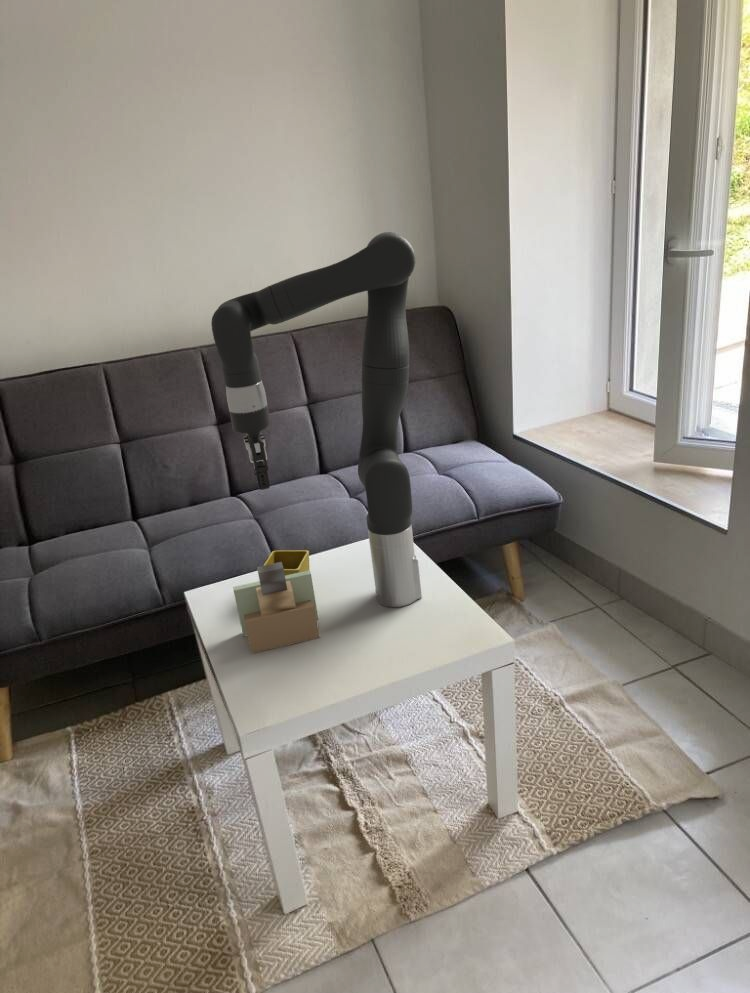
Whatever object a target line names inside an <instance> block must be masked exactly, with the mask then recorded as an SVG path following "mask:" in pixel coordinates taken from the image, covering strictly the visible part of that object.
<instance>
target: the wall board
mask: <svg viewBox="0 0 750 993" xmlns="http://www.w3.org/2000/svg"><path fill="white" fill-rule="evenodd" d="M285 579H286V581H289V580H290V582H291V586H292V589H293V594H294V599H295V605H296V609H291V610H287V611H282V612H278V613H274V614H269V615H265V616H261V611H260V606H259V601H258V596H257V591H256V588H257V587H261V585H260V580H259V581H255V582H249V583H245V584H242V585H241V584H240V585H236V586H232V588H233V594H234V598H235V605H236V608H237V613H238V617H239V623H240V627H241V631H242V632H241V633H242V636H243V637H246V636H247V638H248V639H247V640H248V644H249V648H250V653H251V654H255V653H259V652H263V651H268V650H272V649H276V648H280V647H286V646H289V645H292V644H293V645H294V644H298V643H301V642H303V643H304V642H306V641H311V640H315V639H319V638H320V632H319V625H318V621H317V620H319V615H318V608H317V602H316V596H315V590H314V584H313V577H312V572H311V570H310V569H309V571H304V572H300V573H295V574H290V575H286V576H285Z"/></svg>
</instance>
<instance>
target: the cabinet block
mask: <svg viewBox="0 0 750 993" xmlns="http://www.w3.org/2000/svg"><path fill="white" fill-rule="evenodd" d="M263 565H264V564H263ZM263 565H260V566H257V567H256V569H257V574H258V579H259V581H260V585H261V587H257V588H256V591H257V596H258V601H259V606H260V611H261V616H265V615H269V614H274V613H278V612H282V611H287V610H291V609H296V605H295V599H294V594H293V589H292V586H291V582H290V580H289V581H286V579H285V574H284V568H283V565H282V562H278V563H274V564H269V565H264V566H263Z"/></svg>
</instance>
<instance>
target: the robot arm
mask: <svg viewBox="0 0 750 993" xmlns="http://www.w3.org/2000/svg"><path fill="white" fill-rule="evenodd" d="M415 267H416V254H415V250H414V248H413V246H412V244H411V242H409V241H408V239H406V238H405V237H403V236H402V235H400V234H399V233H396V232H392V231H386V232H382V233H379V234H377V235H375V236H374V237H373V238H371V240H370V241H369V242H368V243H367V246H366V247H364V248H363V249H361V250H359V251H357V252H356V253H354V254H353V255H351V256H349V257H346V258H344V259H343V260H341V261H340V260H339V261H337V262H336V263H333V264H331V265H330V264H329V265H327V266H324V267H321V268H320V267H319V268H318V269H313V270H309V271H306V272H304V273H299V274H297V275H294V276H290V277H288V278H285V279H284V280H283V279H282V280H280V281H278V282H275V283H273V284H271V285H267V286H266V287H264V288H262V289H261V290H257V291H253V292H250V293H245V294H243V295H239V296H235V297H234V298H230V299H228V300H226V301H224V302H222V303H221V304H220V305H219V306H218V308H216V310H215V311H214V313H213V314H212V317H211V331H212V336H213V341H214V343H215V346H216V351H217V353H218V355H219V359H220V360H221V368H222V374H223V377H224V378H223V379H224V382H225V384H224V385H225V391H226V392H225V393H226V401H227V406H228V411H229V412H228V413H229V416H230V421H231V427H232V430H233V431H234V432H235V433H237V434H245V436H243V442H244V445H245V449H246V451H247V453H248V458H249V460H250V463H252V468H253V469H252V470H253V474H254V475H255V476H256V481H257V486H258V489H259V490H260V491H261V490H267V489H270V487H271V485H270V481H269V474H268V471H269V465H268V463H267V460H268V454H267V449H266V438H265V436H264V433H261V431H264V430H267V429H268V428H269V427H270V426H271V418H270V412H269V407H268V400H267V394H266V390H265V386H264V383H263V380H262V374H261V369H260V363H259V359H258V357H257V354H256V353H255V352H254V346H253V341H252V333H251V332H252V331H255V330H259V329H260V328H262V327H265V326H268V325H273V326H274V325H278V324H282V323H285V322H286V321H289V320H292V319H295V318H298V317H300V316H302V315H305V314H307V313H310V312H312V311H314V310H317V309H319V308H321V307H324V306H326V305H328V304H331V303H333V302H336V301H338V300H341V299H343V298H347V297H349V296H354V295H355V294H359V293H363V292H367V316H366V322H365V329H364V336H363V343H362V344H363V347H362V355H361V356H362V358H361V411H362V412H361V414H362V430H361V431H362V432H361V439H360V448H359V455H358V456H359V457H358V463H357V474H358V477H359V478H358V479H359V481H360V482H361V484H362V486H363V487H364V489H365V495H366V501H367V502H366V505H367V512H368V513H367V515H366V526H367V532H368V540H369V549H370V555H371V556H370V557H371V564H372V572H373V579H374V586H375V595H376V600H377V602H378V603H379V604H381V605H382V606H385V607H390V608H400V607H405V606H408V605H410V604H413V603H414V602H415V601H417V600H419V599H422V598H423V596H422V595H423V594H422V586H421V578H420V576H421V575H420V568H419V567H420V566H419V560H418V557H417V556H416V554H415V546H414V536H413V534H414V533H413V527H412V514H413V497H412V496H413V495H412V487H411V484H412V483H411V478H410V477H411V476H410V472H409V470H408V468H407V466H406V464H405V463H404V462H403V461H402V460H401V459H400V457H399V448H398V424H399V420H400V417H401V413H402V411H403V407H404V405H405V400H406V397H407V394H408V391H409V390H408V388H409V380H410V379H409V378H410V377H409V376H410V343H409V341H410V340H409V332H408V324H407V315H406V314H407V313H406V312H407V311H406V310H407V308H406V307H407V306H406V305H407V297H408V296H407V295H408V286H409V279H410V277H411V276H412V274H413V272H414V269H415Z"/></svg>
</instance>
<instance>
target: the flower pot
mask: <svg viewBox="0 0 750 993" xmlns="http://www.w3.org/2000/svg"><path fill="white" fill-rule="evenodd" d="M278 562H282V565H283V568H284V574H285V576H286V575H290V574H295V573H300V572H304V571H309V570H310V550H305V549H303V550H302V549H301V550H273V551H271V553H270V555H269V556H268V558H267V559H266V561H265V562H264V564H263V565H262V566H264V565H269V564H274V563H278Z"/></svg>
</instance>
